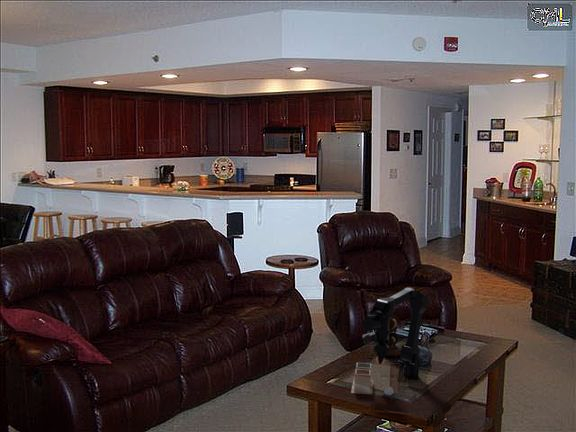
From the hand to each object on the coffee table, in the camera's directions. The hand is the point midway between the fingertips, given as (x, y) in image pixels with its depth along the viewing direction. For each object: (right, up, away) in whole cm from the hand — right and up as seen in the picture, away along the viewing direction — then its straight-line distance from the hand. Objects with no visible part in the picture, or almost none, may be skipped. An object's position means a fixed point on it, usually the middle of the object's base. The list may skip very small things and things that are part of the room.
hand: (380, 362), depth 289 cm
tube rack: (-8, -11, 0) cm, 14 cm away
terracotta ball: (0, -1, 0) cm, 1 cm away
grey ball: (+2, -13, -8) cm, 15 cm away
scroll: (+12, -7, +49) cm, 51 cm away
